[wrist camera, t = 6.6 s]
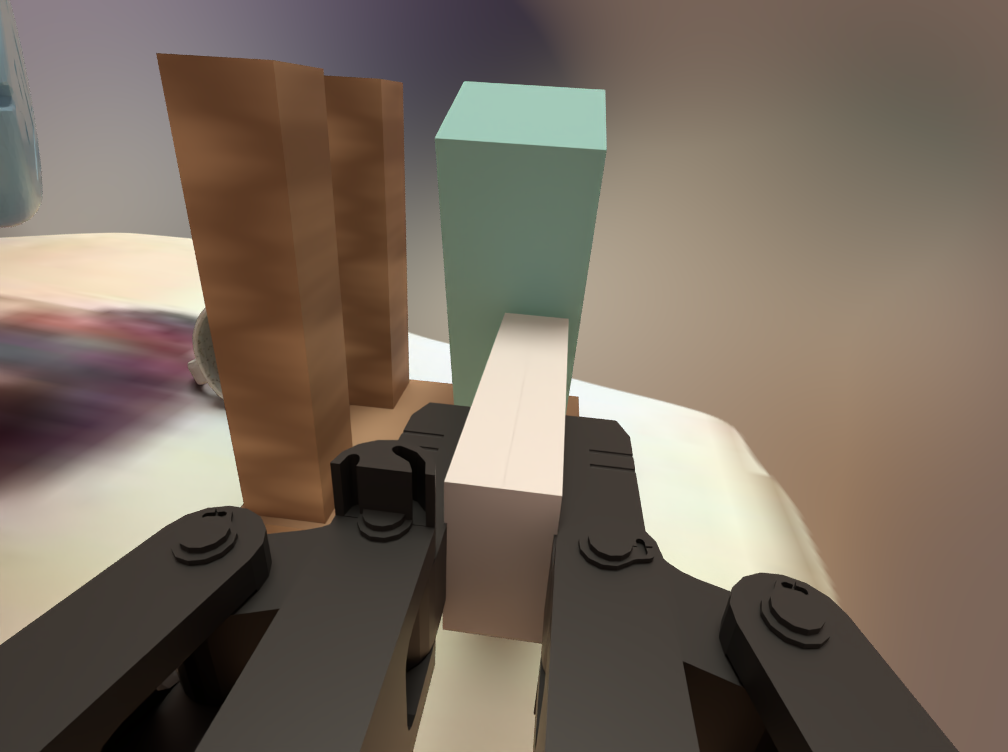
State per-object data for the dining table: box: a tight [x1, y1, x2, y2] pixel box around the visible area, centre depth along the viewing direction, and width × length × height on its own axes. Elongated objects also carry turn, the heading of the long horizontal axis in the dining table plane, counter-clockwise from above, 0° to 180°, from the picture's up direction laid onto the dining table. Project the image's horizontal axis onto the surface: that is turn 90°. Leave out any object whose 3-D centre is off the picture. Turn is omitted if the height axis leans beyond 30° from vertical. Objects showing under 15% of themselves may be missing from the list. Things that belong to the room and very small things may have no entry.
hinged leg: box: [435, 81, 607, 415], centre depth 17 cm, size 3×3×15 cm
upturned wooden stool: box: [157, 53, 579, 534], centre depth 23 cm, size 14×13×18 cm
